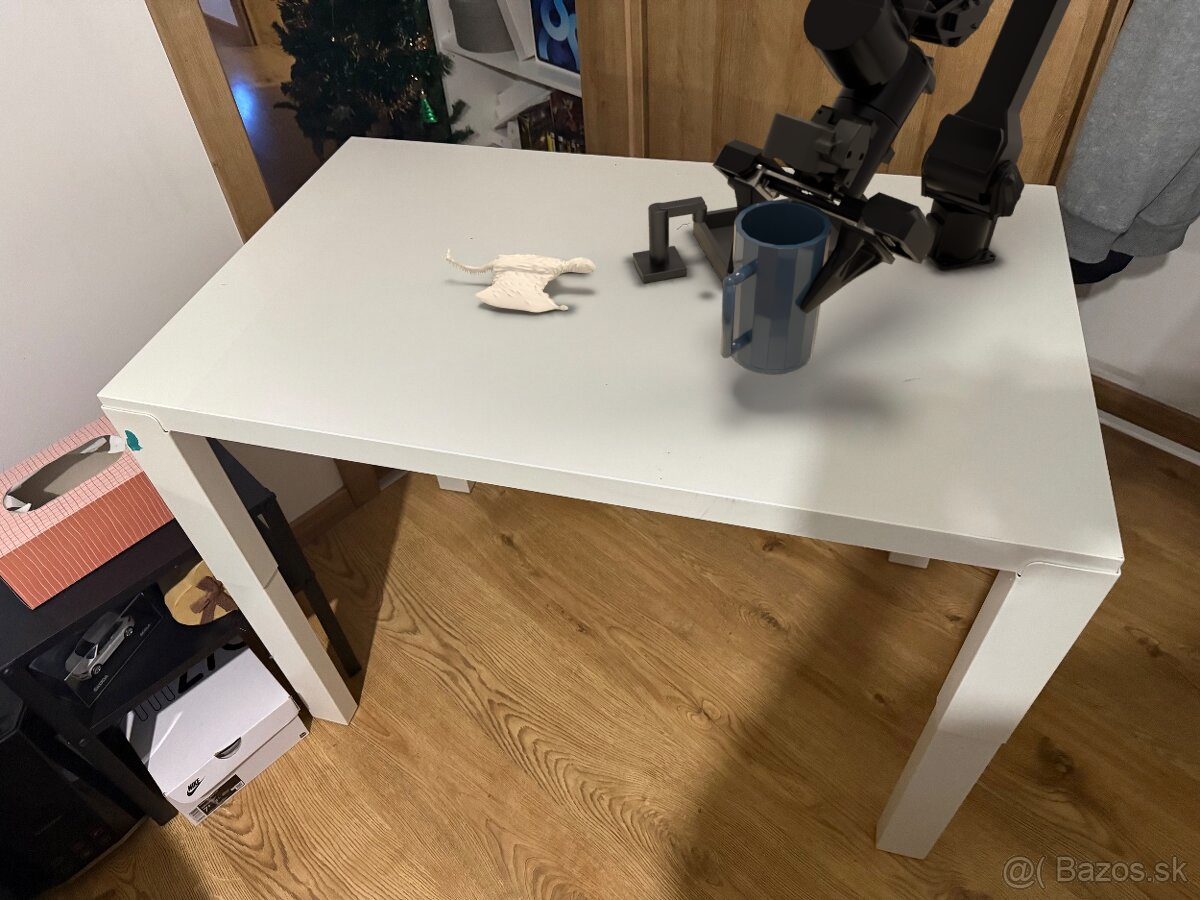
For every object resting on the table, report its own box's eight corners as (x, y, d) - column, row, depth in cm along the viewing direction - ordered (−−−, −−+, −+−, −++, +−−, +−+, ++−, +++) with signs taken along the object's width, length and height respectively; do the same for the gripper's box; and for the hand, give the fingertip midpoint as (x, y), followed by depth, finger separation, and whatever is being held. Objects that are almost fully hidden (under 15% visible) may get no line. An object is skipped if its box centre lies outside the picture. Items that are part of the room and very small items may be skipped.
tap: (643, 283, 91) (641, 221, 85) (632, 260, 94) (630, 199, 89) (711, 271, 92) (714, 209, 86) (698, 249, 95) (700, 187, 90)
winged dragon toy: (428, 307, 90) (419, 275, 87) (458, 258, 97) (452, 226, 94) (587, 319, 86) (584, 286, 84) (606, 267, 93) (604, 235, 91)
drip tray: (822, 210, 99) (825, 191, 98) (867, 263, 91) (871, 243, 89) (692, 232, 98) (693, 213, 96) (725, 288, 89) (727, 268, 87)
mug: (765, 314, 77) (776, 190, 68) (830, 347, 73) (850, 220, 64) (689, 365, 73) (690, 240, 64) (754, 403, 68) (764, 275, 60)
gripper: (732, 37, 64) (635, 220, 67) (948, 97, 53) (823, 310, 56) (787, 105, 73) (700, 264, 76) (982, 168, 62) (872, 349, 65)
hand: (765, 292), depth 68 cm, fingers closed on mug, 7 cm apart
